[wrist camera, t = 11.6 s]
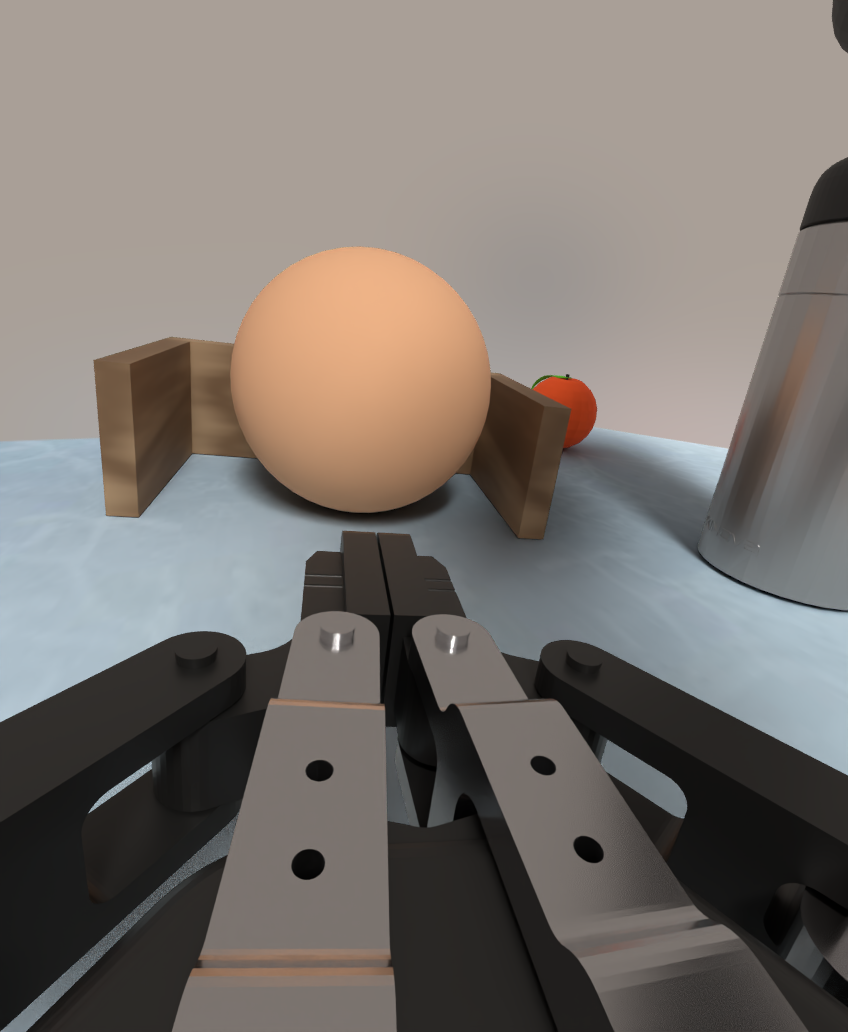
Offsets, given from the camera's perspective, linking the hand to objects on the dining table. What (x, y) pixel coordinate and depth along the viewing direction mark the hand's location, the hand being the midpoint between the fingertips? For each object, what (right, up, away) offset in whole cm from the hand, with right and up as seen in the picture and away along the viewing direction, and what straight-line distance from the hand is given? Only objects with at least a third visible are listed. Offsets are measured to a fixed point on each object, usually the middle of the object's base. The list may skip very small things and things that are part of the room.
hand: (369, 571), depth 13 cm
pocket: (-4, +3, +23) cm, 23 cm away
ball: (-2, +8, +19) cm, 21 cm away
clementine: (+14, +8, +44) cm, 46 cm away
